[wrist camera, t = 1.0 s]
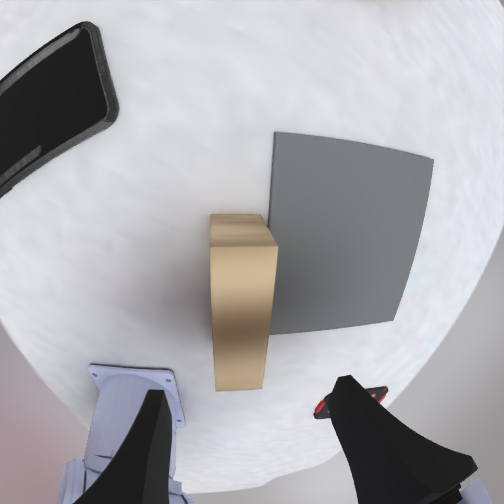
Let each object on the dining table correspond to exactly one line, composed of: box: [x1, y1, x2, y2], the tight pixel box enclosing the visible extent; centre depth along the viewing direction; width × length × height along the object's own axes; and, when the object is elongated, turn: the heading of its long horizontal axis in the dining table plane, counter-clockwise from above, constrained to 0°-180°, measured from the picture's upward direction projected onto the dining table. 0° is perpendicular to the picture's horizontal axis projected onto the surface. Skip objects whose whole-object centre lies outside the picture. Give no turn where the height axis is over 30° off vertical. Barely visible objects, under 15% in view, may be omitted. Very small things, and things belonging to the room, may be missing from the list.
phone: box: [0, 21, 119, 198], centre depth 11 cm, size 8×1×15 cm
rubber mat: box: [268, 132, 434, 335], centre depth 18 cm, size 14×12×1 cm
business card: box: [313, 386, 388, 419], centre depth 28 cm, size 10×1×5 cm
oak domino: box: [210, 214, 278, 391], centre depth 16 cm, size 10×3×5 cm, turn 177°
